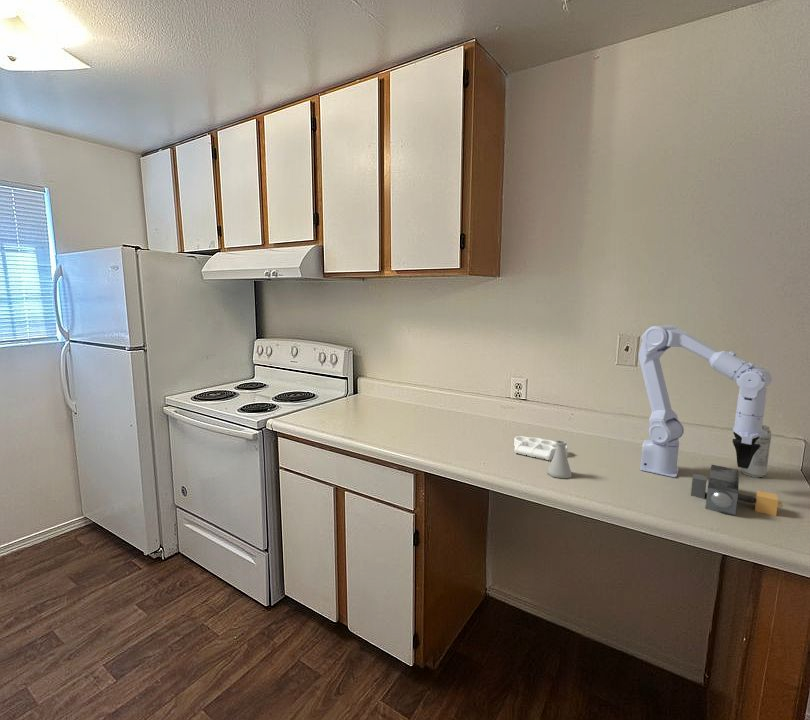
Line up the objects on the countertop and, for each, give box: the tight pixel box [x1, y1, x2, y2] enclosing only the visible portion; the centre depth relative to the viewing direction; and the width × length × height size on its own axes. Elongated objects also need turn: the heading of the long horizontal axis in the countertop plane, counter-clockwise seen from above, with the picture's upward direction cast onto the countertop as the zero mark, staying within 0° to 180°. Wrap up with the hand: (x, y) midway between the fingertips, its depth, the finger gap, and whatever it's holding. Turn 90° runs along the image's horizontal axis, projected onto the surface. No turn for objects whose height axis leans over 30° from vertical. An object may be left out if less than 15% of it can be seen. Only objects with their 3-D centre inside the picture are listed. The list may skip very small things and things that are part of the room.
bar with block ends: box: [690, 473, 784, 517], centre depth 113 cm, size 18×4×5 cm, turn 53°
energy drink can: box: [740, 424, 772, 478], centre depth 131 cm, size 6×6×15 cm
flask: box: [546, 439, 573, 479], centre depth 130 cm, size 7×7×10 cm
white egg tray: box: [513, 435, 569, 461], centre depth 150 cm, size 3×18×15 cm
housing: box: [705, 464, 740, 516], centre depth 114 cm, size 6×17×6 cm, turn 143°
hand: (742, 463), depth 117 cm, fingers open, 7 cm apart
